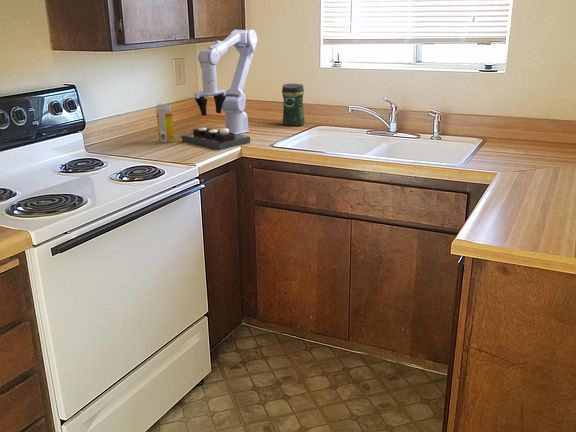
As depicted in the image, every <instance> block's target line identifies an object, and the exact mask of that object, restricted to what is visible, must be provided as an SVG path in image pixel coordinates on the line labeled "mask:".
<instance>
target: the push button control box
mask: <svg viewBox="0 0 576 432" xmlns="http://www.w3.org/2000/svg"><path fill="white" fill-rule="evenodd" d="M198 128H199V127H198ZM198 128H193V129H192V132H193V133H192V132H191V133H186V134H182V135H181V142H183V143H187V144H191V145H196V146H201V147H205V148H209V149H212V150H213V149H214V150H219V151H222V150H225V149H231V148H235V147H238V146H243V145H247V144H250V143H251V136H248V135H242V134H234V133H230V132H229V134H227V135H220V129H219V130H218V129H217V130H218V132H214V133H210V132H209V130H214V129H213V128H210V127H206V128H207V130H202V131H201V130H198ZM201 128H205V127H201ZM234 146H235V147H234ZM230 147H231V148H230Z"/></svg>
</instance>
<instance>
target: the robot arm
mask: <svg viewBox="0 0 576 432" xmlns="http://www.w3.org/2000/svg"><path fill="white" fill-rule="evenodd" d="M257 43H258V36H257V33H256V31H255V30H254V29H233V31H230V35H228V36H227V37H226V38H224V39H223V40H215V41H214V43H213V44H211V45H208V46H207V48H206V49H201V50H200V51H199V53H198V56H197V60H198V63H199V65H200V66H199V67H200V68H201V76H202V77H201V78H202V79H201V80H202V91H199V92H194V101H195V102H196V103H197V105H198V107H199V110H200V113H201V116H203V117H205V116H207V106H208V105H207V103H208V97H213V100H214V102H215V103H214V104H215V112H216V114H221V113H222V111H223V113H224V117H225V118H224V119H225V128H227V129H229V132H230V133H234V134H239V135H241V134H245V133H248V132H250V130H249V119H248V114H247V113H246V112H245V111H244V110H245V109H246V104H247V103H246V102H247V96H246V94H245V93H244V87H245V84H246V81H247V79H248V73H249V71H250V68H251V63H252V60H253V57H254V53H255V50H256V46H257ZM233 46H234V48H235V50H236V52H237V53H239V57H238V61H237V64H236V67H235V72H234V74H233V79H232V81H231V85H230V87H229V88H228V89H227V90H226V89H218V81H217V80H218V79H217V64H218V63H219V61H220V58H222V57H223V56H225V55H226V54H228V49H229V48H232V47H233Z"/></svg>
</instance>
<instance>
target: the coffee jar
mask: <svg viewBox="0 0 576 432" xmlns="http://www.w3.org/2000/svg"><path fill="white" fill-rule="evenodd" d="M304 94H305V90H304V85H303V84H302V83H284V84H283V85H282V89H281V95H282V98H283V99H282V100H283V112H282V113H283V114H282V124H283V125H284V126H287V127H289V126H290V127H296V126H297V127H298V126H303V125H304V124H305V114H304V113H305V112H304V102H303V97H304Z"/></svg>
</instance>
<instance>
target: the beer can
mask: <svg viewBox="0 0 576 432" xmlns="http://www.w3.org/2000/svg"><path fill="white" fill-rule="evenodd" d="M155 113H156V122H157V123H156V124H157V131H158V141H160V143H165V144H169V143H172V142H174V140H175V136H174V135H175V133H174V123H173V112H172V106H171V103H159V104H156V107H155Z"/></svg>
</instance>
